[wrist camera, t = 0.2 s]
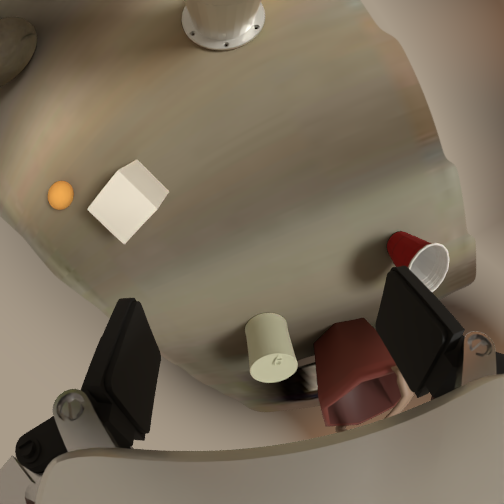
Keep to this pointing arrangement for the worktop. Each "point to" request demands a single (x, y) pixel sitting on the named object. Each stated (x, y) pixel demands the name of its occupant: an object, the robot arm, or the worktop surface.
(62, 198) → the ball
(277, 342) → the can
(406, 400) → the bucket
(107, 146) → the worktop surface
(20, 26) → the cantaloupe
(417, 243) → the plastic cup
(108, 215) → the white sugar cube
